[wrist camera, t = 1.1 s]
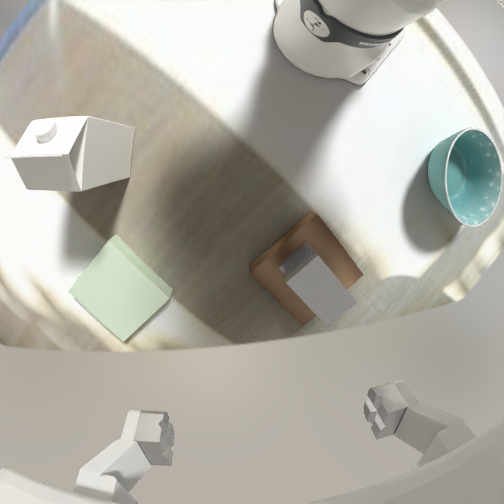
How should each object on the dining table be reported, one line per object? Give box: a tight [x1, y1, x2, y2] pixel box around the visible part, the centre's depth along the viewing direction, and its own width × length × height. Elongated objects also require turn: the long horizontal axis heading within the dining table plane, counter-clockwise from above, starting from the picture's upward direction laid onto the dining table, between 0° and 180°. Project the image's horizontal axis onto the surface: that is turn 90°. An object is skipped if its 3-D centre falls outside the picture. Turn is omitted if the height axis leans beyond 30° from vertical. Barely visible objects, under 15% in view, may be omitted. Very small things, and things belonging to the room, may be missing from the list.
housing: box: [277, 241, 357, 326], centre depth 38 cm, size 5×9×6 cm, turn 42°
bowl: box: [428, 128, 502, 227], centre depth 36 cm, size 16×16×8 cm
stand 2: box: [249, 211, 363, 325], centre depth 42 cm, size 12×12×3 cm
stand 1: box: [69, 235, 173, 342], centre depth 40 cm, size 12×12×3 cm
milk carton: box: [5, 116, 135, 192], centre depth 26 cm, size 7×7×19 cm
